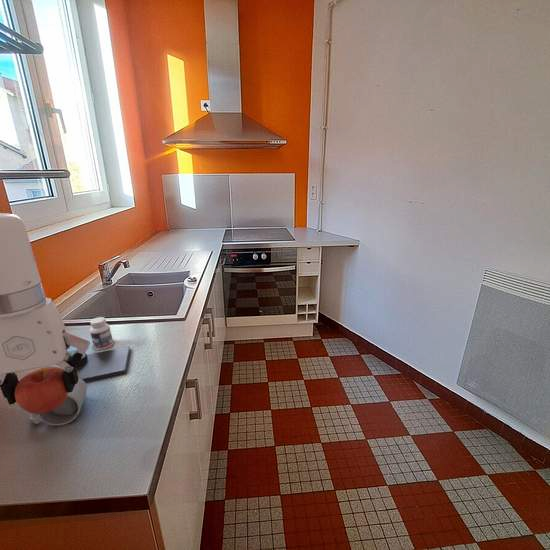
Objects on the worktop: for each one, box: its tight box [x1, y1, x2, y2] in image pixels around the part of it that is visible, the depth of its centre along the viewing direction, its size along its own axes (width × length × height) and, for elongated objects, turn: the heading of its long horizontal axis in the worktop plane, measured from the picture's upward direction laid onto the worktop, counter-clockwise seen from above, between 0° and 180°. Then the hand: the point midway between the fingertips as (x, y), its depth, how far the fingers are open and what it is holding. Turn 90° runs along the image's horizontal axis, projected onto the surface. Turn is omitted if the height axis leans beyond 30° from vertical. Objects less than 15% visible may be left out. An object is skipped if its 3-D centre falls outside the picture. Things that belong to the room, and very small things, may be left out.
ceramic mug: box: [29, 377, 88, 426], centre depth 66 cm, size 11×8×8 cm
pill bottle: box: [89, 316, 114, 351], centre depth 92 cm, size 5×5×9 cm
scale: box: [75, 346, 131, 384], centre depth 82 cm, size 16×12×3 cm
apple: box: [14, 366, 68, 414], centre depth 51 cm, size 7×7×8 cm
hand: (44, 392), depth 51 cm, fingers closed on apple, 7 cm apart
